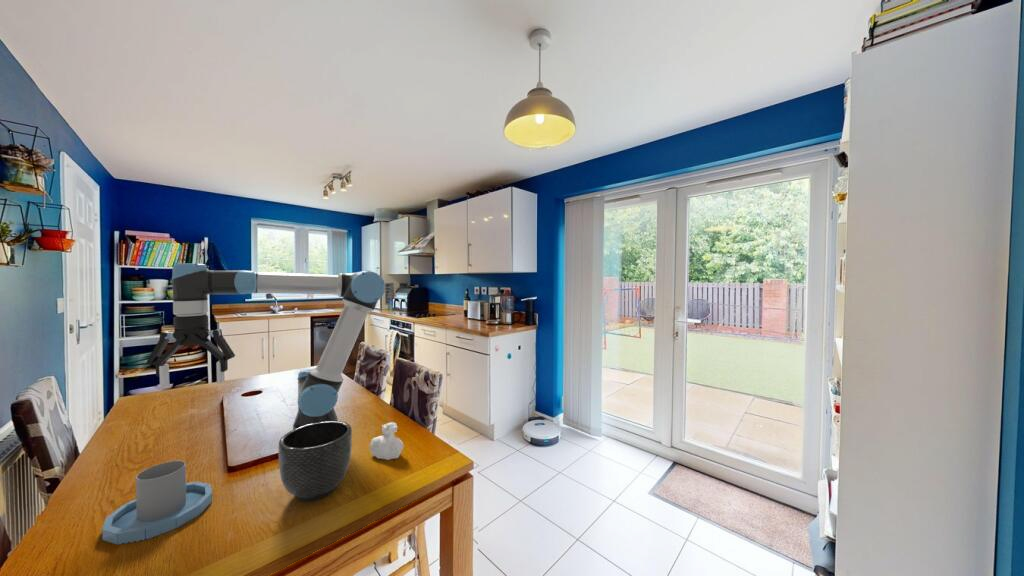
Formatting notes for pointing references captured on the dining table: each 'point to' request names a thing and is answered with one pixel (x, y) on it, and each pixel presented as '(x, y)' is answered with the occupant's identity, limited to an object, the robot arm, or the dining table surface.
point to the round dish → (129, 529)
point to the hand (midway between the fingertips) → (193, 384)
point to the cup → (160, 491)
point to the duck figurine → (387, 443)
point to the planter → (315, 458)
